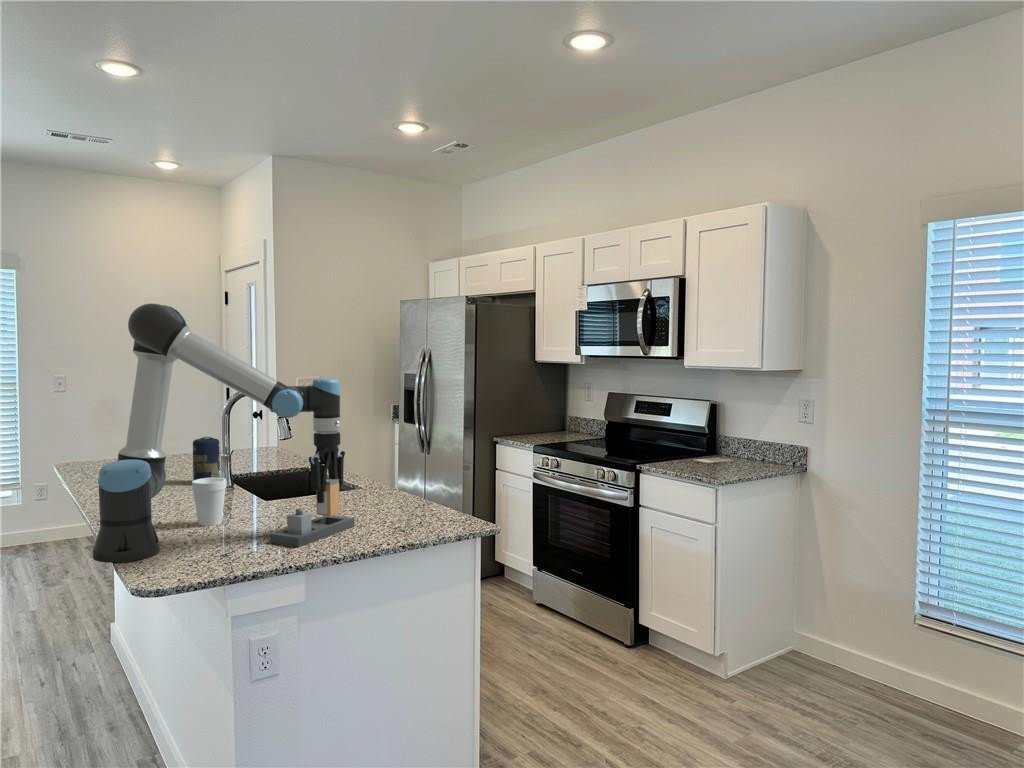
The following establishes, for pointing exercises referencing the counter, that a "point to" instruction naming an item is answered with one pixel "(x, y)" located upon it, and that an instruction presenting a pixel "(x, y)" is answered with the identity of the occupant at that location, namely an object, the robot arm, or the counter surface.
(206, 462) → the canister
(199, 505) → the foam cup
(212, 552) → the counter surface
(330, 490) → the plug
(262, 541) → the counter surface
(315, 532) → the gray fixture base
